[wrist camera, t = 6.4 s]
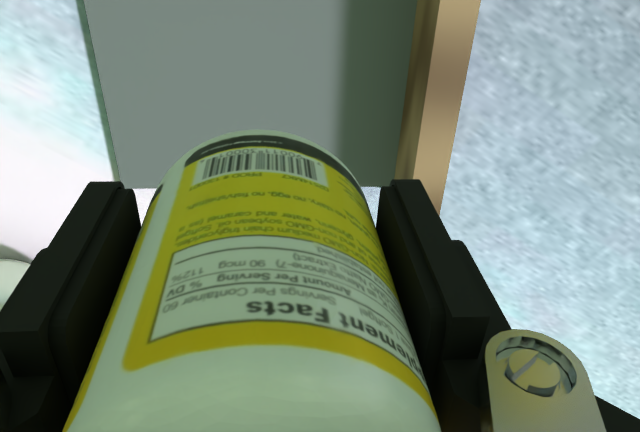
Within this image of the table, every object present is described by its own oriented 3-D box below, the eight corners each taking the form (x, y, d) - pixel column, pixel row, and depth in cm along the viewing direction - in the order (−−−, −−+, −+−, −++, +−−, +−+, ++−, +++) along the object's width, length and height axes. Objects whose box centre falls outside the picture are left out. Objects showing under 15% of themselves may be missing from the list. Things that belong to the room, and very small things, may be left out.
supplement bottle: (254, 331, 13) (233, 859, 6) (105, 216, 11) (-221, 838, 4) (409, 229, 12) (624, 757, 4) (274, 73, 9) (276, 623, 2)
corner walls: (418, 190, 26) (436, 227, 23) (115, 193, 25) (94, 233, 22) (479, -184, 18) (519, -199, 15) (29, -209, 17) (-23, -232, 14)
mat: (391, 182, 26) (393, 186, 26) (123, 184, 25) (122, 188, 24) (431, -135, 19) (434, -135, 18) (56, -153, 18) (52, -154, 17)
